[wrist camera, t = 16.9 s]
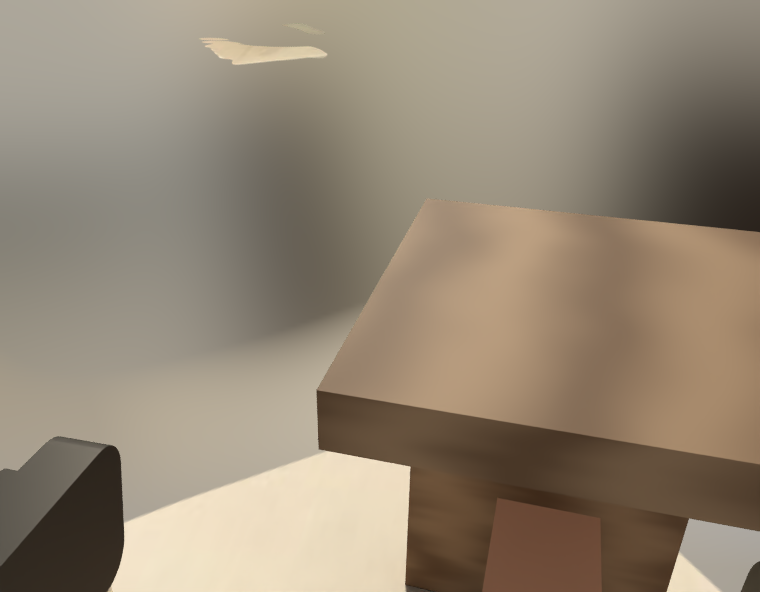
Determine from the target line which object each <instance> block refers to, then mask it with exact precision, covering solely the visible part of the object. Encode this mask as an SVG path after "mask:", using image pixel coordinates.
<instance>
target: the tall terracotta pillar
mask: <svg viewBox="0 0 760 592" xmlns="http://www.w3.org/2000/svg"><path fill="white" fill-rule="evenodd" d="M482 592H602V574H601V518H597V517H592V516H587V515H582V514H577V513H572V512H567V511H562V510H556V509H551V508H546V507H541V506H536V505H531V504H526V503H521V502H516V501H511V500H506V499H501V498H497V503H496V510H495V516H494V522H493V528H492V534H491V540H490V547H489V553H488V559H487V565H486V571H485V577H484V583H483V590H482Z"/></svg>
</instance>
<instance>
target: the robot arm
mask: <svg viewBox="0 0 760 592" xmlns="http://www.w3.org/2000/svg"><path fill="white" fill-rule="evenodd" d="M121 479H122V478H121V460H120V454H119V451H118V450H117V448H116V447H114V446H112V445H106V444H100V443H95V442H89V441H83V440H77V439H72V438H66V437H54V438H53V439H50V440H49V441H48V442H47V443H46V444H45V445H44V446H42V447H41V448H40V449H39V450H38V451H37V452H36V453H35V454H34V455H33V456H32V457H31V458H30V459H29V460H28V461H27V462H26V463H25V465H23V466H22V467H21V468H20V469H19V470H18V471H15V470H10V469H3V470H1V471H0V592H108V590H109V588H110V587H111V585H112V583H113V581H114V578H115V576H116V574H117V571H118V568H119V565H120V561H121V558H122V553H123V547H124V522H123V501H122V480H121ZM741 592H760V562H757V563H756V564H755V565H753V567H752V568H751V569H750V572H749V573H748V576H747V578H746V581H745V583H744V586H743V588H742V590H741Z"/></svg>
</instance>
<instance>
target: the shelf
mask: <svg viewBox="0 0 760 592" xmlns="http://www.w3.org/2000/svg"><path fill="white" fill-rule="evenodd" d="M317 414H318V440H319V441H318V442H319V449H320V450H325V451H331V452H336V453H342V454H347V455H352V456H358V457H363V458H368V459H374V460H379V461H384V462H390V463H395V464H401V465H406V466H411V469H410V491H409V514H408V536H407V558H406V581H405V585H409V586H414V587H418V588H423V589H427V590H432V591H436V592H482V590H483V583H484V577H485V571H486V565H487V559H488V553H489V547H490V540H491V534H492V528H493V522H494V516H495V510H496V503H497V498H501V499H506V500H511V501H516V502H521V503H526V504H531V505H536V506H541V507H546V508H551V509H556V510H562V511H567V512H572V513H577V514H582V515H587V516H592V517H597V518H601V574H602V592H667V589H668V585H669V582H670V579H671V575H672V572H673V569H674V566H675V562H676V559H677V556H678V553H679V549H680V546H681V543H682V540H683V536H684V533H685V530H686V526H687V523H688V520H689V518H691V519H696V520H702V521H706V522H712V523H717V524H722V525H728V526H733V527H739V528H744V529H750V530H755V531H760V232H752V231H742V230H732V229H722V228H712V227H702V226H693V225H683V224H672V223H662V222H652V221H643V220H633V219H623V218H614V217H603V216H594V215H584V214H575V213H564V212H555V211H545V210H535V209H525V208H516V207H505V206H496V205H486V204H475V203H466V202H457V201H447V200H436V199H426V201H425V202H424V204H423V206H422V208H421V209H420V211H419V213H418V214H417V216H416V218H415V220H414V222H413V223H412V225H411V227H410V229H409V230H408V232H407V234H406V235H405V237H404V239H403V241H402V242H401V244H400V246H399V248H398V249H397V251H396V253H395V255H394V256H393V258H392V260H391V261H390V264H389V265H388V267H387V268H386V270H385V272H384V274H383V275H382V277H381V279H380V281H379V282H378V284H377V286H376V288H375V289H374V291H373V293H372V295H371V296H370V298H369V300H368V302H367V304H366V305H365V307H364V309H363V310H362V312H361V314H360V316H359V317H358V319H357V321H356V322H355V324H354V326H353V328H352V329H351V331H350V333H349V335H348V337H347V338H346V340H345V342H344V343H343V345H342V347H341V349H340V350H339V352H338V354H337V356H336V357H335V359H334V361H333V362H332V364H331V366H330V368H329V369H328V371H327V373H326V375H325V377H324V379H323V380H322V382H321V383H320V385H319V387H318V389H317Z"/></svg>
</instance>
